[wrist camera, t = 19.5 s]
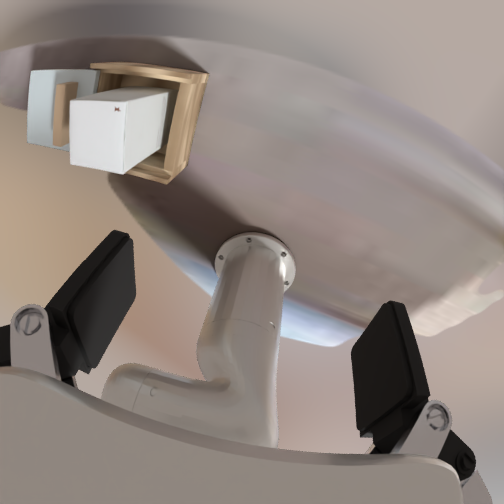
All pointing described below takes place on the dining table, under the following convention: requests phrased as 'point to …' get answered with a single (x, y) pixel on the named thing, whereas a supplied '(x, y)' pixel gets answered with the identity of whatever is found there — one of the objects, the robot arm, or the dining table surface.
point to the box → (184, 118)
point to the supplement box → (120, 126)
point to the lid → (55, 103)
